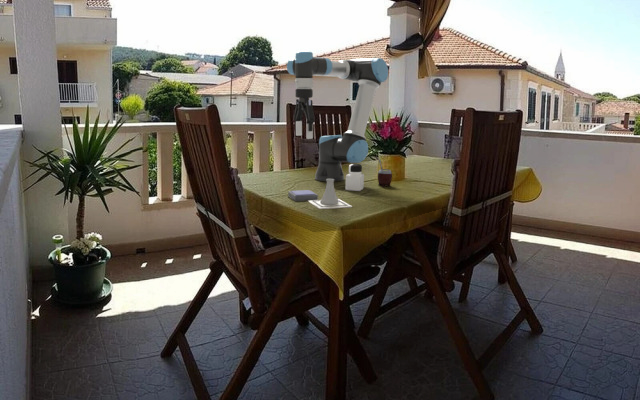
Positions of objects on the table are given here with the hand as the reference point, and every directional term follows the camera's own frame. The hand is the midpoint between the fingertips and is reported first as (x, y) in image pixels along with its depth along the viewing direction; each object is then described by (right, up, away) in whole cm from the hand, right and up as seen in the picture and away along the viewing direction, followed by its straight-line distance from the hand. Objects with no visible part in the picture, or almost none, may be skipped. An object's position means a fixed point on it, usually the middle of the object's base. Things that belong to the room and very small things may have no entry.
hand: (304, 137), depth 219 cm
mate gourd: (+39, -21, +24) cm, 50 cm away
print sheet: (+11, -30, -19) cm, 37 cm away
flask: (+11, -30, -19) cm, 37 cm away
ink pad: (0, -27, -9) cm, 29 cm away
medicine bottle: (+24, -23, +14) cm, 36 cm away
